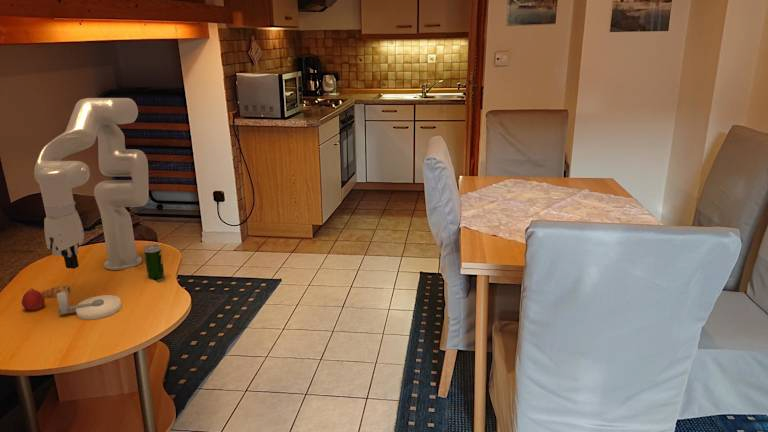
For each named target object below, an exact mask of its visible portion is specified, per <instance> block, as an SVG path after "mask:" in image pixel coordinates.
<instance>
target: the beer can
mask: <svg viewBox="0 0 768 432" xmlns="http://www.w3.org/2000/svg"><path fill="white" fill-rule="evenodd" d="M143 252H144V258H145V259H144V261H145V266H146V274H147V279H149V280H153V281H155V282H156V283H158V282H162V281H163V280H164V279H165V269H164V261H163V254H162V253H163V252H162V248H161V245H160V244H157V243H156V244H155V243H153V244H148V245H146V246H145V247H144V250H143Z"/></svg>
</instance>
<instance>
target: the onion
mask: <svg viewBox="0 0 768 432" xmlns="http://www.w3.org/2000/svg"><path fill="white" fill-rule="evenodd" d="M45 300H46V298H44V296H43V294H42V293H41V291H39V290H36V289H34V287H30V288H29V289H28V290H27V291H26V292H25V293H24V294H23V296H22V299H21V306H22V307H23V308H24V309H25V310H27V311H30V312H31V311H37V310H39V309H41V308H42V307H43V306H44V305H45Z"/></svg>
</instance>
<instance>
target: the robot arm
mask: <svg viewBox="0 0 768 432" xmlns="http://www.w3.org/2000/svg"><path fill="white" fill-rule="evenodd" d="M138 115H139V109H138V105H137V104H136V102H135V101H134V100H133V99H132V98H129V97H86V98H82V99H80V100H78V101H77V102H76V104H75V105H74V108H73V110H72V113H71V115H70V119H69V122H68V124H67V126H66V129H65V131H64V132H63V133H60V135H58V136H56V137H54V139H52V140H51V141H49V142H48V143H47V144H46V145H45V146H43V148H42V149H41V151H40V152H39V155H38V157H37V160H36V163H35V165H34V170H33V175H34V179H35V181H36V183H38V185H39V189H40V192H41V197H42V202H43V207H44V211H45V215H46V217H45V218H44V222H43V224H44V226H43V227H44V228H43V229H44V236H45V237H44V240H45V244H46V248H47V250H52V254H51V255H53V256H55V257H57V256H61V257H63V260H64V264H65V267H66V269H77V268H79V266H80V264H79V260H78V253H79V247H80V246H81V245H82V244H83V243H84V239H85V232H84V227H83V223H82V220H81V217H80V216H79V213H78V211H77V209H76V206H75V205H76V201H75V200H74V194H73V190H72V189H74V188H78V187H81V186H83V185H85V184H86V183H87V182H88V181H89V179H90V177H91V170H90V168H89V166H88V164H86V163H85V162H83V161H79V160H63V159H64V158H65V157H67V156H70V155H72V154H75V153H78V152H81V151H83V150H86V149H88V148H91V147H92V146H93V145H94V144H95V142H96V139H97V144H98V145H97V146H98V148H97V149H98V150H97V156H98V170H99V171H100V173H101V175H103V176H106V177H131V179H125V180H124V179H112V180H111V179H110V180H109V179H108V180H103V181H101V182H98V183H97V184H95V186H94V189H93V190H94V191H93V194H94V199H95V202H96V204H97V208H98V210H99V213H100V218H101V223H102V231H103V235H104V242H105V249H106V255H107V260H106V261H104V262H103V263H104V265H103V266H104V268H105V269H107V270H110V271H122V270H128V269H132V268H135V267H137V266H139V265H140V264H141V263H142V261H143V260H142V259H143V258H142V256H140V255H138V254H137V250H136V249H137V247H136V243H135V235H134V228H133V222H132V217H131V214H130V213H129V211H128V210H127V209H126V208H137V207H138V208H139V207H144V206H145V205H146V204H148V202H149V197H150V196H149V193H150V192H149V189H150V187H149V186H150V185H149V163H148V158H147V155H146V154H145V152H144V151H142V150H140V149H135V148H133V149H127V148H126V144H125V143H126V142H125V141H126V140H125V139H126V137H125V134H124V132H123V131H122V130H121V128H120V127H119V126H118V125H125V124H133V123H134V122H135V121H136V119H137V118H138Z"/></svg>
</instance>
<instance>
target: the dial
mask: <svg viewBox="0 0 768 432" xmlns="http://www.w3.org/2000/svg"><path fill="white" fill-rule="evenodd" d="M56 299H57V303H58V308H57V309H58V311H57V314H58V315H61V314H62V315H64V314H68V313H75V312H76V317H78V318H79V319H81V320H88V321H89V320H91V321H92V320H99V319H104V318H107V317H111V316H112V315H114V314H116V313H118V312H119V311H120V310H121V308H122V301H121V298H120V297H119V296H117V295H112V294H105V295H104V294H101V295H96V296H93V297H92V296H91V297H89V298H86V299H84V300H82V301H80V302H79V303H78V304H75V305H69V301H68V296H67V295H66V292H59V293H57V297H56Z"/></svg>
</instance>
